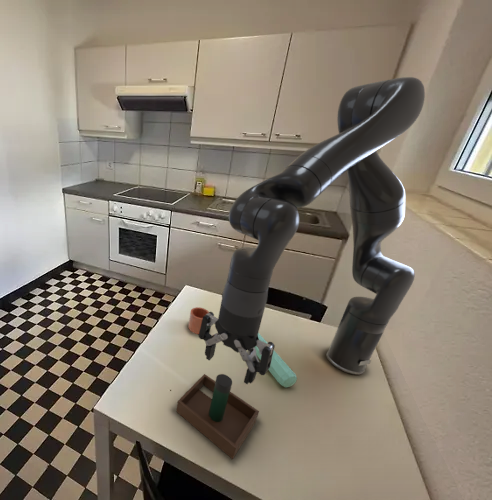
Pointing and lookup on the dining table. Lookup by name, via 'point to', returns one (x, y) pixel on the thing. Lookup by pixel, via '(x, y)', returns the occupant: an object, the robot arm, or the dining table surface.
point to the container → (279, 368)
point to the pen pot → (196, 319)
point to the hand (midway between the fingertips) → (227, 368)
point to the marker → (220, 397)
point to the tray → (232, 425)
